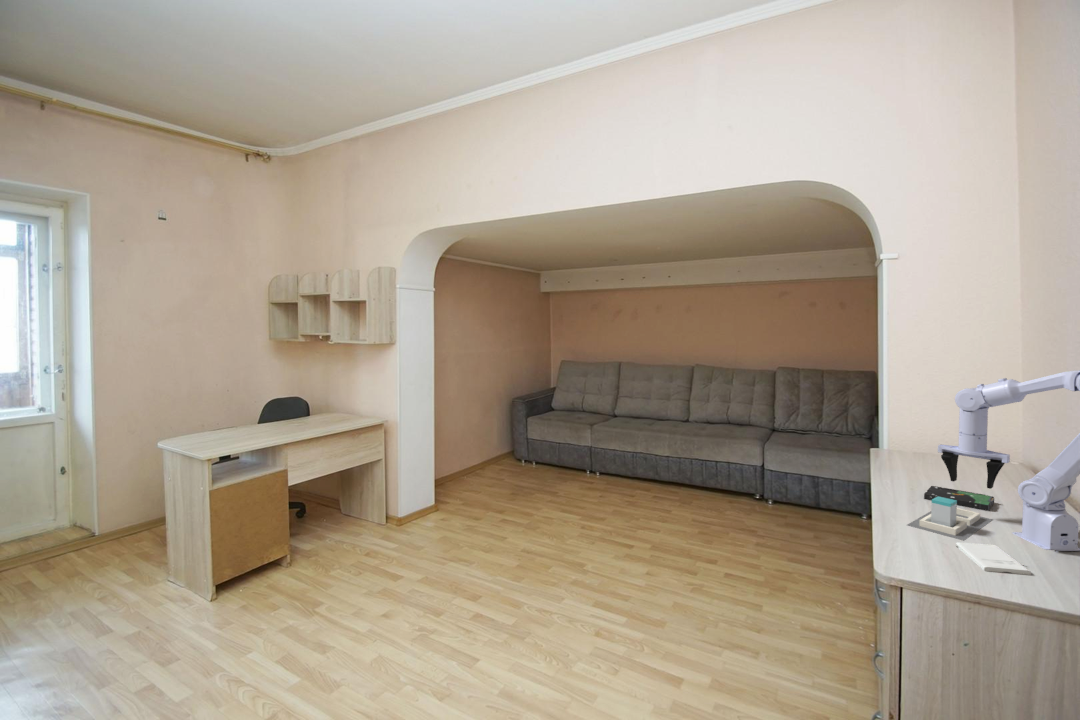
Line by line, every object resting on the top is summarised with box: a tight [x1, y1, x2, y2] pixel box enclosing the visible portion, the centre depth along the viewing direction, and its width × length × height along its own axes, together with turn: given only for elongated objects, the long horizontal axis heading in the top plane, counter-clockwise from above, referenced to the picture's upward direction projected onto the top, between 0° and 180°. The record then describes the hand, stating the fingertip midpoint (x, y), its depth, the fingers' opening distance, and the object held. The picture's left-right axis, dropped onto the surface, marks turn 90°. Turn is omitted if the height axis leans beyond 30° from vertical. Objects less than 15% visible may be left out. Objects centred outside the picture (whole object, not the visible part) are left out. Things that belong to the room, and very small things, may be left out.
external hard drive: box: [955, 541, 1032, 576], centre depth 115 cm, size 2×8×12 cm
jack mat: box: [906, 510, 994, 541], centre depth 134 cm, size 21×12×1 cm, turn 124°
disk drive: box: [923, 485, 995, 512], centre depth 149 cm, size 10×3×15 cm
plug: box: [930, 496, 958, 528], centre depth 131 cm, size 4×4×7 cm
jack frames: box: [919, 507, 981, 535], centre depth 134 cm, size 17×8×2 cm, turn 124°
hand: (971, 484), depth 135 cm, fingers open, 7 cm apart
